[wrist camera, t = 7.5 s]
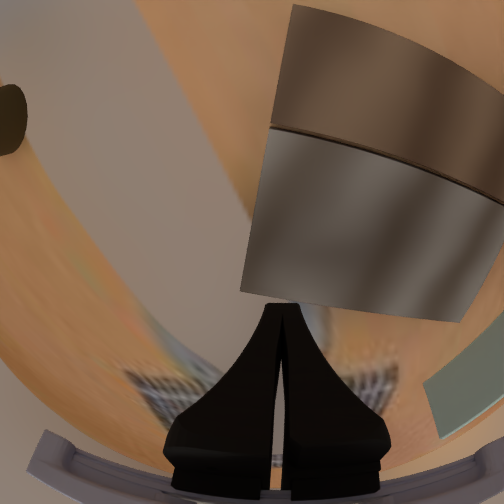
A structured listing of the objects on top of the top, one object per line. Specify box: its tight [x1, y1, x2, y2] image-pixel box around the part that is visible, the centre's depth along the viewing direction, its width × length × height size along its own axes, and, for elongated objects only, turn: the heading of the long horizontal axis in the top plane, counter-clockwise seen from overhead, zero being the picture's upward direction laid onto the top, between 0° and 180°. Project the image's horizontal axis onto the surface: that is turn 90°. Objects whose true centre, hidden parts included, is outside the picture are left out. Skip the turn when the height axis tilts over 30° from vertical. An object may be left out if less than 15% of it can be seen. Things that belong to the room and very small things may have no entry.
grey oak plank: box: [240, 127, 504, 323], centre depth 17 cm, size 18×10×2 cm, turn 81°
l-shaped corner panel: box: [423, 311, 504, 439], centre depth 20 cm, size 12×12×8 cm
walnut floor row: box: [271, 4, 504, 202], centre depth 12 cm, size 18×7×2 cm, turn 81°
